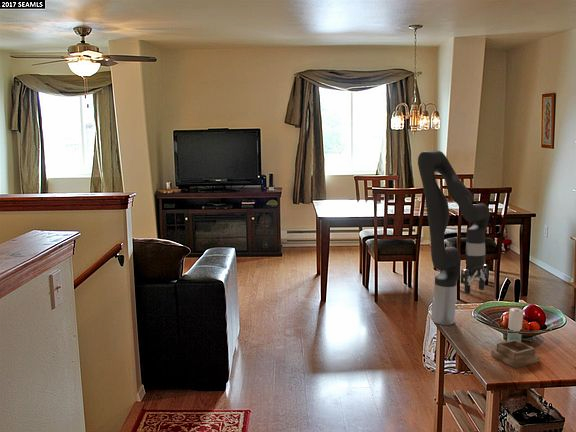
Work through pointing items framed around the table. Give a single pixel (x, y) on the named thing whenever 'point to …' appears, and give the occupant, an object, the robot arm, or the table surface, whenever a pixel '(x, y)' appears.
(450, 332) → the table surface
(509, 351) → the stand
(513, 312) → the roll
